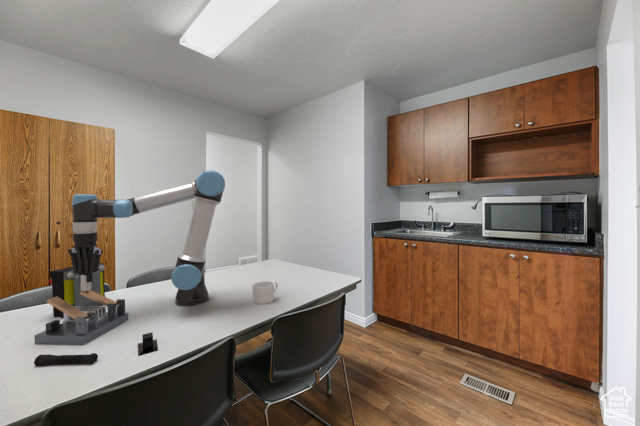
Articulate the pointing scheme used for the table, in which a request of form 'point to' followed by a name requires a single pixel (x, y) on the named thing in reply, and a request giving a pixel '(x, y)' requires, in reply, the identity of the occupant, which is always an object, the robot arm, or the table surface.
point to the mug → (264, 292)
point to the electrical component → (75, 287)
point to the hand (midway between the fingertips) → (86, 290)
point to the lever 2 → (97, 297)
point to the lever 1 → (66, 308)
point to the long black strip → (65, 359)
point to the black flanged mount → (147, 344)
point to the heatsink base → (84, 325)
